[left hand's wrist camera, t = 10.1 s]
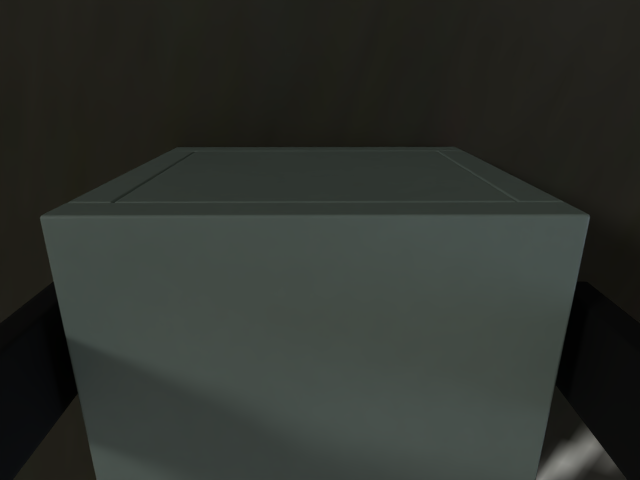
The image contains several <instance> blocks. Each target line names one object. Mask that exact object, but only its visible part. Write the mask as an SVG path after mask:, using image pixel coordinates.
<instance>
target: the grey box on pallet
mask: <svg viewBox="0 0 640 480" xmlns="http://www.w3.org/2000/svg"><path fill="white" fill-rule="evenodd" d="M40 220H41V225H42V229H43V234H44V239H45V243H46V248H47V253H48V257H49V262H50V266H51V271H52V276H53V280H54V285H55V290H56V294H57V299H58V303H59V308H60V313H61V317H62V322H63V326H64V331H65V336H66V340H67V345H68V350H69V354H70V359H71V363H72V368H73V373H74V377H75V382H76V387H77V391H78V396H79V400H80V405H81V410H82V414H83V419H84V423H85V428H86V433H87V437H88V442H89V447H90V451H91V456H92V460H93V465H94V470H95V474H96V479H97V480H536V475H537V470H538V465H539V460H540V456H541V451H542V446H543V441H544V436H545V431H546V427H547V422H548V417H549V412H550V407H551V403H552V398H553V393H554V388H555V383H556V379H557V374H558V369H559V364H560V359H561V355H562V350H563V345H564V340H565V335H566V330H567V326H568V321H569V316H570V311H571V306H572V302H573V297H574V292H575V287H576V282H577V278H578V273H579V268H580V263H581V258H582V253H583V249H584V244H585V239H586V234H587V229H588V225H589V220H590V215H589V214H587V213H585V212H583V211H581V210H579V209H577V208H575V207H573V206H571V205H569V204H567V203H565V202H563V201H562V200H560V199H558V198H556V197H554V196H552V195H550V194H548V193H546V192H544V191H542V190H540V189H538V188H536V187H534V186H532V185H530V184H528V183H526V182H524V181H522V180H520V179H518V178H516V177H514V176H512V175H510V174H508V173H506V172H504V171H502V170H500V169H498V168H496V167H494V166H492V165H491V164H489V163H487V162H485V161H483V160H481V159H479V158H477V157H475V156H473V155H471V154H469V153H467V152H465V151H462V150H460V149H458V148H456V147H177V148H175V149H173V150H171V151H169V152H167V153H165V154H163V155H161V156H159V157H157V158H155V159H153V160H151V161H149V162H147V163H145V164H143V165H141V166H139V167H137V168H135V169H133V170H131V171H129V172H127V173H125V174H123V175H121V176H119V177H117V178H115V179H113V180H111V181H109V182H107V183H105V184H103V185H101V186H99V187H97V188H95V189H93V190H92V191H90V192H88V193H86V194H84V195H82V196H80V197H78V198H76V199H74V200H72V201H70V202H68V203H65V204H63V205H61V206H59V207H57V208H55V209H53V210H51V211H49V212H47V213H45V214H43V215H42V216H41V217H40Z"/></svg>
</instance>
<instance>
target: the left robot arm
mask: <svg viewBox="0 0 640 480" xmlns="http://www.w3.org/2000/svg"><path fill="white" fill-rule="evenodd" d="M555 384H556V386H557V387H558V388H559V390H560V391H561V392H562V394H563V395H564V396H565V398H566V399H567V400H568V402H569V403H570V404H571V406H572V407H573V408H574V410H575V411H576V412H577V414H578V415H579V416H580V418H581V419H582V420H583V421H584V423H585V424H586V425H587V427H588V428H589V429H590V431H591V432H592V433H593V435H594V436H595V437H596V439H597V440H598V441H599V443H600V444H601V445H602V447H603V448H604V449H605V451H606V452H607V453H608V455H609V456H610V457H611V459H612V460H613V461H614V463H615V464H616V465H617V467H618V468H619V469H620V471H621V472H622V473H623V475H624V476H625V477H626V479H627V480H640V323H638V322H637V321H636V320H635V319H633V318H632V317H631V316H629V315H628V314H627V313H626V312H624V311H623V310H622V309H621V308H619V307H618V306H617V305H616V304H614V303H613V302H612V301H610V300H609V299H608V298H607V297H605V296H604V295H603V294H602V293H600V292H599V291H598V290H596V289H595V288H594V287H593V286H591V285H590V284H589V283H588V282H576V287H575V292H574V297H573V302H572V306H571V311H570V316H569V321H568V326H567V330H566V335H565V340H564V345H563V350H562V355H561V359H560V364H559V369H558V374H557V379H556V383H555ZM77 394H78V391H77V387H76V382H75V377H74V373H73V368H72V363H71V359H70V354H69V350H68V345H67V340H66V336H65V331H64V326H63V322H62V317H61V313H60V308H59V303H58V299H57V294H56V290H55V285H54V282H52V283H51V284H50V285H49V286H47V287H46V288H45V289H44V290H42V291H41V292H40V293H38V294H37V295H36V296H35V297H33V298H32V299H31V300H30V301H28V302H27V303H26V304H24V305H23V306H22V307H21V308H19V309H18V310H17V311H16V312H14V313H13V314H12V315H11V316H9V317H8V318H7V319H5V320H4V321H3V322H2V323H0V480H13V479H14V477H15V476H16V475H17V473H18V472H19V471H20V469H21V468H22V467H23V465H24V464H25V463H26V461H27V460H28V459H29V457H30V456H31V455H32V453H33V452H34V451H35V449H36V448H37V447H38V445H39V444H40V443H41V441H42V440H43V439H44V437H45V436H46V435H47V433H48V432H49V431H50V429H51V428H52V427H53V425H54V424H55V423H56V421H57V420H58V419H59V418H60V416H61V415H62V414H63V412H64V411H65V410H66V408H67V407H68V406H69V404H70V403H71V402H72V400H73V399H74V398H75V396H76V395H77Z"/></svg>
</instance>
